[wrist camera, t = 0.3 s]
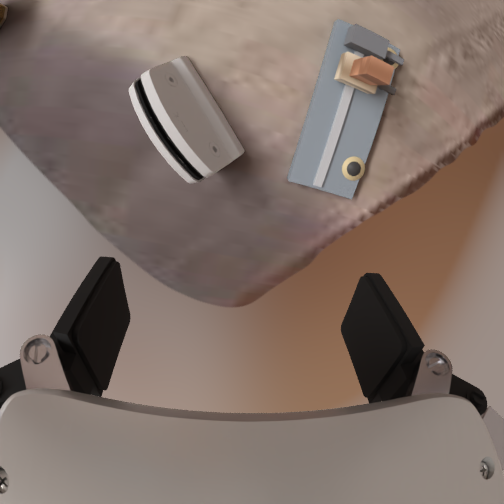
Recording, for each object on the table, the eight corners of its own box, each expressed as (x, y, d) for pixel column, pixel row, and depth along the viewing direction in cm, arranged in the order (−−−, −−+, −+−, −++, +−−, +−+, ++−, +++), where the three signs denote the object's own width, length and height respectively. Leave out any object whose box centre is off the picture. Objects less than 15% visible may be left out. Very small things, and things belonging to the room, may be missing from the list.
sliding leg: (340, 54, 28) (365, 45, 21) (393, 79, 29) (425, 79, 22) (332, 79, 30) (356, 76, 23) (386, 103, 31) (417, 107, 24)
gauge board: (334, 21, 26) (346, 13, 22) (396, 51, 28) (413, 48, 24) (287, 178, 38) (293, 188, 34) (349, 196, 40) (361, 208, 36)
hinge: (246, 153, 36) (220, 184, 29) (218, 166, 39) (188, 199, 31) (185, 53, 28) (140, 58, 21) (160, 72, 31) (113, 84, 23)
